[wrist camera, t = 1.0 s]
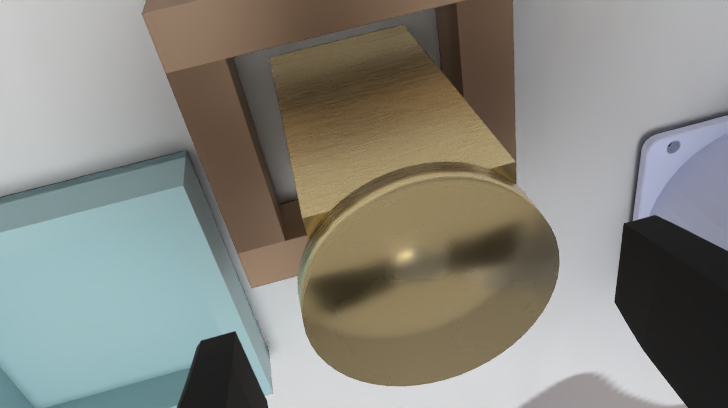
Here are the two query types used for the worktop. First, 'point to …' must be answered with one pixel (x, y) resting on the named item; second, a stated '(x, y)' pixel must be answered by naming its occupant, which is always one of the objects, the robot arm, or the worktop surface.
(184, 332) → the tray
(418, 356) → the brass pin
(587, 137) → the worktop surface
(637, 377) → the worktop surface
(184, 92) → the holder block
